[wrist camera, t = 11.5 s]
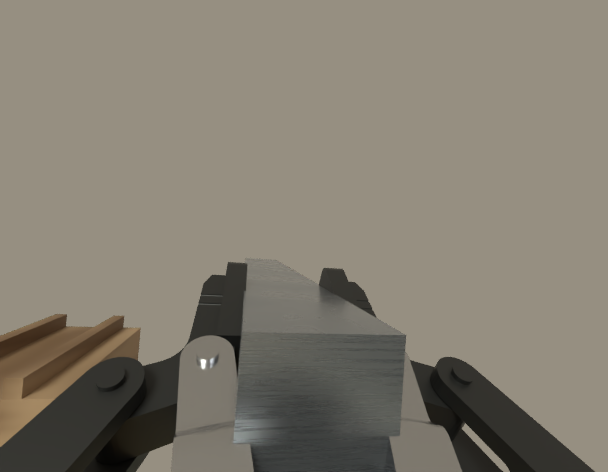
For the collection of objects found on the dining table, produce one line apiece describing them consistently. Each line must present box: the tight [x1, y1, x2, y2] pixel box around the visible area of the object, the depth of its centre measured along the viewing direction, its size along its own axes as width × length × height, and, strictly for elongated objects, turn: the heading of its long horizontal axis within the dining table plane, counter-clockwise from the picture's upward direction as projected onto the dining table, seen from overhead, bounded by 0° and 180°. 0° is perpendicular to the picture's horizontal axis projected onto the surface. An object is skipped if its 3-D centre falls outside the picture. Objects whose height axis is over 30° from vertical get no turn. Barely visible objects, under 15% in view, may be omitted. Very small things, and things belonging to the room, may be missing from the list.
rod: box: [233, 258, 406, 472], centre depth 17 cm, size 3×24×3 cm, turn 11°
